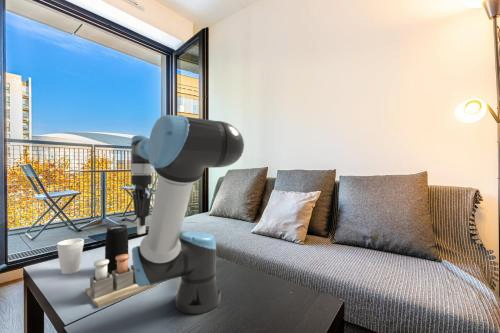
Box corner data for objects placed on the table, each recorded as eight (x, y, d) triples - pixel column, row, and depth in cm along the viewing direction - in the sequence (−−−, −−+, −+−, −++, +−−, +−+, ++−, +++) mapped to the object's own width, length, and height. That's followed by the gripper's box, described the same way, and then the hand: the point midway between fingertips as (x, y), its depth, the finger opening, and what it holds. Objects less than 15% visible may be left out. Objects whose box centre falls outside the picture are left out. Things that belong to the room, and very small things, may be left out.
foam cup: (57, 278, 97) (57, 246, 97) (56, 270, 104) (56, 241, 104) (84, 271, 104) (85, 241, 104) (82, 264, 111) (82, 237, 111)
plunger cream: (110, 280, 84) (111, 261, 84) (95, 285, 81) (96, 265, 81) (106, 276, 87) (106, 258, 87) (91, 280, 84) (92, 261, 84)
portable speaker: (123, 274, 101) (123, 228, 101) (100, 274, 101) (100, 229, 101) (131, 265, 110) (131, 223, 110) (110, 266, 109) (110, 224, 109)
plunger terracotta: (131, 274, 89) (131, 256, 89) (118, 278, 86) (118, 259, 86) (126, 270, 92) (126, 253, 92) (113, 274, 89) (113, 256, 89)
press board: (157, 285, 92) (157, 268, 92) (98, 308, 77) (98, 287, 77) (140, 273, 102) (140, 258, 102) (85, 292, 87) (85, 273, 87)
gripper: (158, 174, 93) (158, 234, 93) (143, 174, 102) (143, 228, 102) (139, 175, 87) (138, 238, 87) (125, 174, 96) (125, 232, 96)
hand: (141, 233), depth 95 cm, fingers closed
